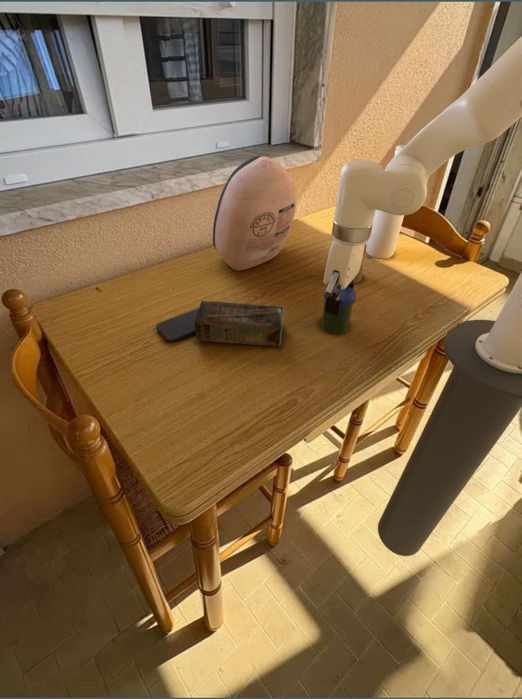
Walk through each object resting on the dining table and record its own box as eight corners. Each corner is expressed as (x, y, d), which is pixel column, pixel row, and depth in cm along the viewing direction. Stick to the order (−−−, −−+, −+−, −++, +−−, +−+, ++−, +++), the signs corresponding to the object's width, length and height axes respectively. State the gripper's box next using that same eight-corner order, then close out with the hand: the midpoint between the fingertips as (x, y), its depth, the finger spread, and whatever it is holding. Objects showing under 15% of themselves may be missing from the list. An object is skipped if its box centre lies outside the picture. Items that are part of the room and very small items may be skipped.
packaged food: (262, 241, 123) (264, 138, 104) (304, 265, 112) (315, 154, 92) (205, 261, 113) (195, 151, 93) (245, 290, 102) (243, 171, 82)
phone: (226, 318, 91) (168, 341, 84) (226, 320, 91) (169, 344, 84) (210, 303, 95) (154, 324, 88) (210, 306, 96) (155, 327, 89)
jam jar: (352, 322, 91) (359, 291, 85) (342, 337, 87) (348, 305, 81) (327, 314, 94) (332, 283, 88) (316, 327, 90) (321, 296, 84)
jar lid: (359, 295, 86) (361, 289, 85) (348, 310, 82) (349, 304, 81) (331, 286, 89) (332, 280, 88) (318, 300, 85) (319, 294, 83)
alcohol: (360, 247, 121) (381, 143, 101) (386, 245, 123) (411, 141, 103) (371, 260, 115) (395, 151, 95) (398, 258, 116) (428, 150, 96)
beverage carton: (281, 348, 84) (282, 325, 79) (195, 343, 85) (192, 319, 80) (282, 326, 90) (283, 303, 85) (201, 321, 91) (199, 298, 86)
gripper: (349, 211, 82) (337, 283, 94) (315, 241, 71) (306, 318, 82) (384, 219, 79) (367, 292, 91) (353, 252, 68) (338, 330, 80)
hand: (338, 304), depth 87 cm, fingers closed on jar lid, 6 cm apart
